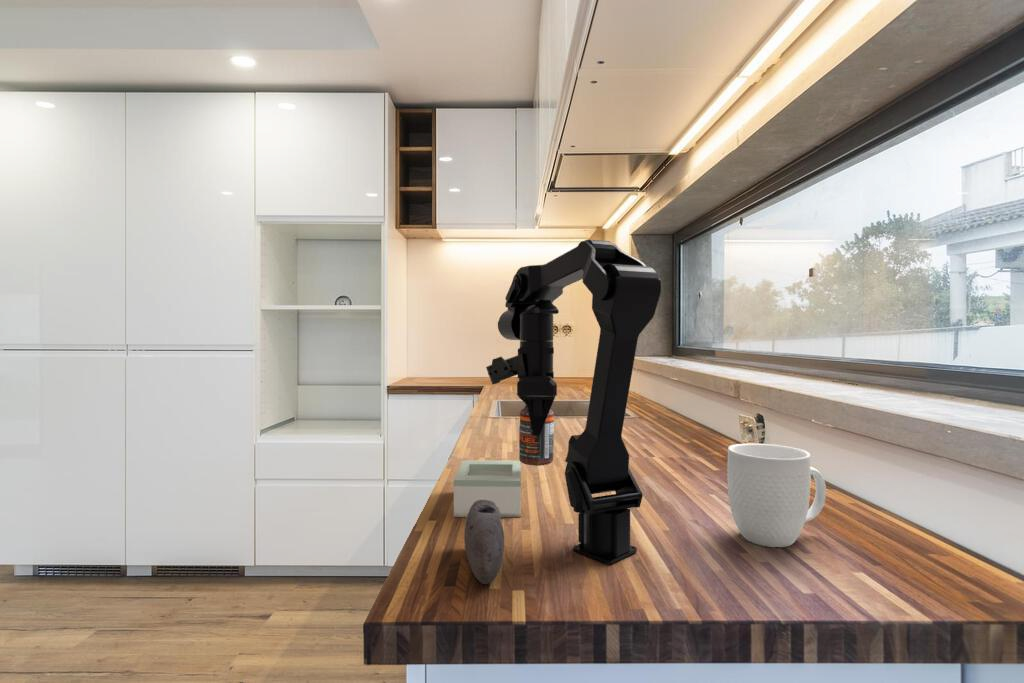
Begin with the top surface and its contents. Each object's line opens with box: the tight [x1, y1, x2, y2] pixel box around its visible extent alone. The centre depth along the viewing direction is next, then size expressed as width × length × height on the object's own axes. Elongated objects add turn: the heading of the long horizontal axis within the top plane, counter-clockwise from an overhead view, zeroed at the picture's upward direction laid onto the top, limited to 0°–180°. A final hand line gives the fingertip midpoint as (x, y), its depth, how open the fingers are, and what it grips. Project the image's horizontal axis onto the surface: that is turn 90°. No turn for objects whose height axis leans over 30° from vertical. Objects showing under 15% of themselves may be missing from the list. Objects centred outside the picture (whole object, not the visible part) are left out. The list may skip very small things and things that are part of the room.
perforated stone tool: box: [463, 500, 505, 585], centre depth 70 cm, size 15×5×7 cm, turn 2°
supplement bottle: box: [518, 404, 555, 467], centre depth 93 cm, size 6×6×11 cm
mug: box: [726, 442, 827, 548], centre depth 80 cm, size 15×11×13 cm
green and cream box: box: [453, 459, 522, 518], centre depth 96 cm, size 11×14×6 cm
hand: (536, 432), depth 93 cm, fingers closed on supplement bottle, 6 cm apart
